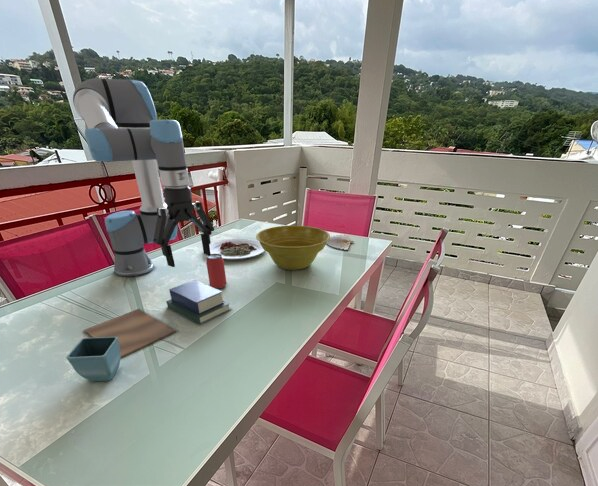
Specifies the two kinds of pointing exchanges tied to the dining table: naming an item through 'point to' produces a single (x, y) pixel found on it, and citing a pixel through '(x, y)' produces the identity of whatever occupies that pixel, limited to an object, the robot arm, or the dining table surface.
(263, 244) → the planter bowl
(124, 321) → the brown wooden board
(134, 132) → the robot arm
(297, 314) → the dining table surface
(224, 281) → the beer can
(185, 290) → the navy book
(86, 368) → the flower pot
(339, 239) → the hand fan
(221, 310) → the green notebook
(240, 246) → the plated food
